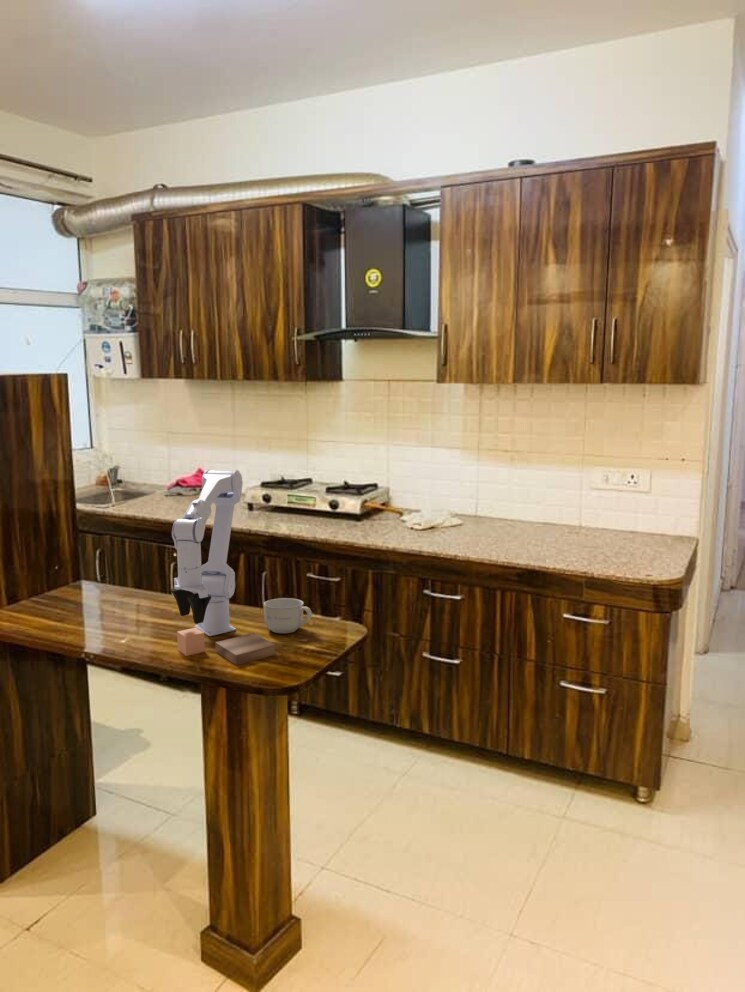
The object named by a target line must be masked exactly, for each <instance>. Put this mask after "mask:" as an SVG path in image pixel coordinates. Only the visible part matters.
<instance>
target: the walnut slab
mask: <svg viewBox="0 0 745 992" xmlns="http://www.w3.org/2000/svg"><path fill="white" fill-rule="evenodd" d="M214 643H215V653H216V654H218V655H220V656H221V657H223V658H224V659H225V660H228V661H229V662H231V663H233V664H234V665H235V666H238V665H239V666H240V665H243V664H246V663H250V662H253V661H256V660H261V659H265V658H268V657H272V656H275V655H277V652H276V651H277V647H276V644H275V643H273V642H271V641H270V640H268V639H266V638H264V637H262V636H260V635H258V634H256V633H255V632H252V633H249V634H244V635H241V636H239V635H238V636H236V637H232V638H231V637H230V638H228V639H224V640H219V641H215V642H214Z"/></svg>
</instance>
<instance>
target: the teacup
mask: <svg viewBox="0 0 745 992" xmlns="http://www.w3.org/2000/svg"><path fill="white" fill-rule="evenodd" d="M263 611H264V613H263V614H264V625H265V626H266V627H267V628H268V629H269V630H270V631H271V632H273V633H275V634H290V633H294V632H296V631H297V630H298V629H299V628H300V627H303V625H304V624H306V623H307V622H309V621H310V620H311V618H312V616H313V614H312V610H311V608H310V607H308V606H306V605H305V606H304V601H303V600H301V599H298V598H293V597H292V598H291V597H290V598H287V597H282V598H274V599H272V598H271V599H269V600H267V601H264V602H263ZM304 611H305V612H306V615H307V616H306V617H305V619H304Z"/></svg>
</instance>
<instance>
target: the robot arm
mask: <svg viewBox="0 0 745 992" xmlns="http://www.w3.org/2000/svg"><path fill="white" fill-rule="evenodd" d="M242 477H243V476H242V473H241V472H240V470H237V469H235V470H221V469H220V470H219V469H218V470H217V469H206V470H204V472H203V473H202V476H201V487H202V488H201V491H200V493H199V495H198V498H197V499H194V500H193V501H191V503H189V505H188V507H187V508H186V511H185V512H184V514H183V516H182V517H181V518H178V519H177V520H174V522H173V525H172V529H171V538H172V540H173V543H174V549H175V550H176V556H177V560H176V561H177V577H174V578H173V584H174V586H173V588H171V589H170V592H171V594H172V596H173V597H174V599H175V602H176V604H177V608H178V611H179V615H180V617H184V616H188V615H190V613H191V612H192V619H193V622H194V624H195V625H194V628H197V629H199V630H200V631H202V632H204V635H207V636H209V637H212V636H217V635H222V634H225V633H230V632H234V631H236V630H237V628H235V627H234V626H232V625H231V624H230V622H231V621H230V599H231V598H232V597H233V596H234V593H235V591H236V590H235V589H236V572H235V571H234V569H233V568H232V567H230V566H229V564H228V563H227V561H228V553H229V546H230V540H231V539H230V538H231V531H232V525H233V516H234V510H235V505H237V504H238V503H239V502H241V497H242V491H243V485H244V483H243V478H242ZM213 504H214V505H215V510H214V517H213V518H214V519H213V525H212V532H211V539H210V545H209V553H208V560H207V562H206V563H204V564H202V551H201V550H202V549H201V547H202V546H201V542H202V541H203V539H204V536H205V530H206V523H207V522H208V519H209V518H210V517H211V515H212V505H213ZM193 594H194V595H193Z"/></svg>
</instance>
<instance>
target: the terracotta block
mask: <svg viewBox="0 0 745 992" xmlns="http://www.w3.org/2000/svg"><path fill="white" fill-rule="evenodd" d="M176 636H177V639H176V640H177V651H178V652H179V653H181V654H182V655H184V656H186V657H188V656H192V655H197V654H200V653H204V652H206V651H205V645H206V644H205V633H204V632H202V631H200V630H199V629H197V628H195V627H192V628H187V629H183V630H178V631H176Z"/></svg>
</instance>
